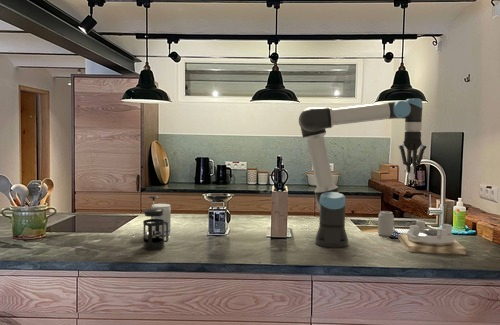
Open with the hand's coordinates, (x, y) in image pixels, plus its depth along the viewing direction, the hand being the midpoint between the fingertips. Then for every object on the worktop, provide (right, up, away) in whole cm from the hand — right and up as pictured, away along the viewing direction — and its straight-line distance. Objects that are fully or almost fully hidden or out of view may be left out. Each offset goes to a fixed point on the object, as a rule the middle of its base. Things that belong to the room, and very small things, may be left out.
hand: (410, 179), depth 209 cm
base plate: (+5, -30, -11) cm, 33 cm away
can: (-9, -29, +10) cm, 32 cm away
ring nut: (+5, -28, -11) cm, 30 cm away
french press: (-121, -30, -19) cm, 126 cm away
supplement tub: (-123, -28, +6) cm, 126 cm away
